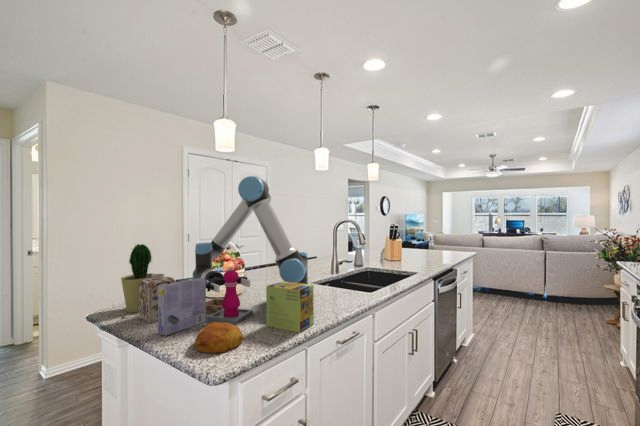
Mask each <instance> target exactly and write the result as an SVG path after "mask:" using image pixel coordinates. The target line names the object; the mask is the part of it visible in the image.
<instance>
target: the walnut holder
mask: <svg viewBox="0 0 640 426" xmlns="http://www.w3.org/2000/svg"><path fill="white" fill-rule="evenodd" d="M223 299H224V298H217V297H216V298H213V299H210V300H206V313H210V312H211V313H210V314H214V313H216V312H218V311H220V310H222V309H223V307H222V302H223ZM217 305H218V306H217Z"/></svg>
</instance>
